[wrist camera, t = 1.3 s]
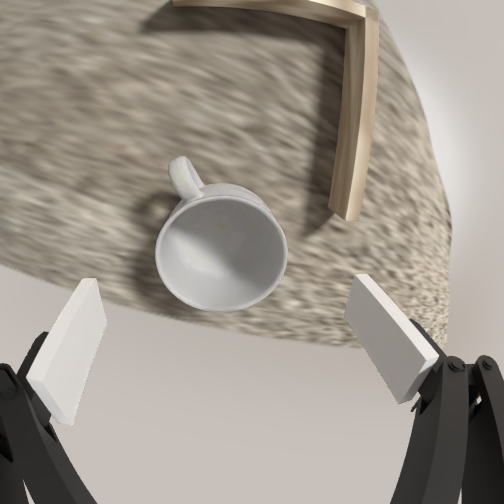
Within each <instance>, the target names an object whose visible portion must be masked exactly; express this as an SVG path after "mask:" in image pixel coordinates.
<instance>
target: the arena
mask: <svg viewBox="0 0 504 504" xmlns="http://www.w3.org/2000/svg"><path fill="white" fill-rule="evenodd" d="M172 2H173V5H174V7H176V6H216V7H233V8H245V9H254V10H262V11H269V12H276V13H282V14H287V15H293V16H298V17H302V18H307V19H311V20H316V21H320V22H324V23H327V24H331V25H335V26H338V27H341V28H345V29H346V32H345V56H344V72H343V86H342V98H341V109H340V120H339V129H338V138H337V146H336V154H335V162H334V169H333V177H332V184H331V190H330V197H329V203H328V208H329V209H330V210H332V211H333V212H334V213H336V214H337V215H338V216H340V217H341V218H342V219H344V220H345V221H356V222H358V221H359V216H360V211H361V205H362V200H363V194H364V189H365V183H366V177H367V170H368V164H369V157H370V149H371V142H372V133H373V124H374V115H375V104H376V91H377V75H378V47H379V19H378V11H376V10H374V9H371V8H369V7H366V6H364V5H361V4H358V3H355V2H352V1H350V0H172Z"/></svg>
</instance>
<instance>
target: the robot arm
mask: <svg viewBox="0 0 504 504" xmlns="http://www.w3.org/2000/svg"><path fill="white" fill-rule="evenodd" d="M344 317H345V319H346V321H347V322H348V324H349V325H350V327H351V328H352V330H353V331H354V333H355V334H356V336H357V338H358V339H359V341H360V342H361V344H362V345H363V347H364V349H365V350H366V352H367V353H368V355H369V356H370V358H371V360H372V361H373V363H374V365H375V366H376V368H377V369H378V371H379V373H380V374H381V376H382V377H383V379H384V381H385V382H386V384H387V386H388V387H389V389H390V390H391V392H392V394H393V396H394V397H395V399H396V401H397V402H398V404H401V403H404V402H407V401H410V400H412V398H413V397H414V396H415V394H416V393H417V391H418V392H419V394H420V395H421V396H420V398H419V399H418V400H417V402H416V403H415V405H414V406H413V407H412V409H411V412H413V411H414V409H415V408H416V407H417V409H416V414H415V419H414V424H413V428H412V433H411V437H410V441H409V445H408V449H407V453H406V457H405V460H404V463H403V467H402V470H401V473H400V477H399V480H398V483H397V486H396V489H395V491H394V494H393V497H392V500H391V502H390V504H458V500H459V495H460V490H461V489H462V504H504V380H503V378H502V375H501V373H500V370H499V368H498V365H497V363H496V362H495V361H494V360H493V358H491V357H489V356H485V355H482V356H480V357H479V358H478V359H477V361H476V362H475V364H465V363H464V361H462V360H461V359H460V358H457V357H454V356H448V357H447V356H446V355H445V354H444V352H443V351H442V350H441V349H440V347H439V346H438V345H437V344H436V343H435V342H434V340H433V339H432V338H430V336H429V335H428V334H427V332H425V330H424V329H423V328H422V327H421V326H420V324H418V323H417V322H415V321H414V320H412V319H408V318H407V317H406V316H405V315H404V314H403V313H402V311H401V310H400V309H399V308H398V307H397V306H396V305H395V304H394V302H393V301H392V300H391V299H390V298H389V297H388V296H387V295H386V294H385V293H384V292H383V290H382V289H381V288H380V287H379V286H378V285H377V284H376V283H375V282H374V281H373V280H372V279H371V278H370V277H369V276H368V275H367V274H355V275H354V279H353V283H352V287H351V291H350V295H349V299H348V302H347V306H346V310H345V313H344ZM106 325H107V320H106V317H105V313H104V309H103V305H102V301H101V297H100V293H99V289H98V284H97V280H96V278H83V279H82V281H81V282H80V284H79V285H78V287H77V288H76V290H75V291H74V293H73V294H72V296H71V297H70V299H69V301H68V302H67V304H66V305H65V307H64V309H63V310H62V312H61V313H60V315H59V317H58V318H57V320H56V322H55V324H54V325H53V327H52V329H51V330H50V332H43V333H42V334H40V335H39V336H38V337H37V338H36V339H35V341H34V343H33V344H32V346H31V349H30V350H29V352H28V353H27V354H28V355H27V356H26V357H25V359H24V361H23V363H22V365H21V367H20V369H19V370H18V373H17V374H15V373H14V371H13V370H12V368H11V366H9V365H8V364H4V363H1V364H0V504H29V502H28V499H27V495H26V491H25V487H24V482H25V485H26V487H27V489H28V491H29V493H30V495H31V497H32V499H33V501H34V503H35V504H97V503H96V501H95V500H94V498H93V497H92V496H91V494H90V493H89V491H88V490H87V488H86V487H85V485H84V484H83V482H82V480H81V479H80V477H79V476H78V474H77V472H76V471H75V469H74V467H73V465H72V464H71V462H70V460H69V458H68V456H67V455H66V453H65V451H64V449H63V447H62V445H61V443H60V442H59V439H58V437H57V435H56V433H55V431H54V429H53V427H52V425H51V424H50V422H49V420H50V417H51V415H52V416H53V418H54V419H55V420H56V421H57V422H58V423H61V424H66V425H70V426H73V425H74V421H75V418H76V414H77V410H78V407H79V403H80V400H81V397H82V393H83V390H84V387H85V383H86V381H87V378H88V374H89V372H90V368H91V366H92V363H93V360H94V357H95V354H96V351H97V349H98V346H99V343H100V341H101V338H102V335H103V333H104V330H105V328H106ZM479 396H481V399H482V401H481V402H480V403H479V404H478V403H477V399H478V398H479ZM23 480H24V482H23Z"/></svg>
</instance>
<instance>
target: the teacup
mask: <svg viewBox="0 0 504 504" xmlns="http://www.w3.org/2000/svg"><path fill="white" fill-rule="evenodd" d="M168 173H169V176H170V179H171V182H172V184H173V186H174V188H175V190H176V192H177V193H178V195H179V196H180V197H181V199H182V200H181V201H180V202H179V203H178V204H177V206H176V207H175V208H174V210H173V211H172V213H171V214H170V216H169V218H168V220H167V221H166V222H165V224H164V225H163V227H162V228H161V230H160V232H159V235H158V238H157V240H156V246H155V261H156V266H157V270H158V273H159V275H160V278H161V280H162V281H163V283H164V285H165V286H166V287H167V289H168V290H169V291H170V292H171V293H172V294H173V295H174V296H175V297H177V298H178V299H179V300H181V301H182V302H184V303H186V304H188V305H190V306H192V307H194V308H197V309H200V310H204V311H210V312H232V311H236V310H242V309H246V308H247V307H249V306H252V305H254V304H256V303H258V302H260V301H261V300H263V299H264V298H265V297H266V296H268V295H269V294H270V293H271V292H272V291H273V290H274V289H275V287H276V286H277V285H278V283H279V282H280V280H281V278H282V276H283V274H284V271H285V268H286V265H287V259H288V246H287V242H286V238H285V235H284V232H283V230H282V228H281V226H280V225H279V223H278V221H277V220H276V219H275V218H274V216H273V214H272V213H271V211H270V210H269V208H268V207H267V206H266V204H265V203H264V202H263V201H262V200H261V199H260V198H259V197H258V196H257V195H255V194H254V193H253V192H251V191H249V190H247V189H245V188H243V187H241V186H237V185H234V184H228V183H216V184H210V185H204V184H203V182H202V181H201V179H200V178H199V176H198V174H197V173H196V171H195V169H194V167H193V166H192V164H191V163H190V161H189V160H188V159H187V158H186V157H184V156H181V157H177V158H176V159H174V160H172V161H171V162H170V163H169V165H168Z"/></svg>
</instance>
